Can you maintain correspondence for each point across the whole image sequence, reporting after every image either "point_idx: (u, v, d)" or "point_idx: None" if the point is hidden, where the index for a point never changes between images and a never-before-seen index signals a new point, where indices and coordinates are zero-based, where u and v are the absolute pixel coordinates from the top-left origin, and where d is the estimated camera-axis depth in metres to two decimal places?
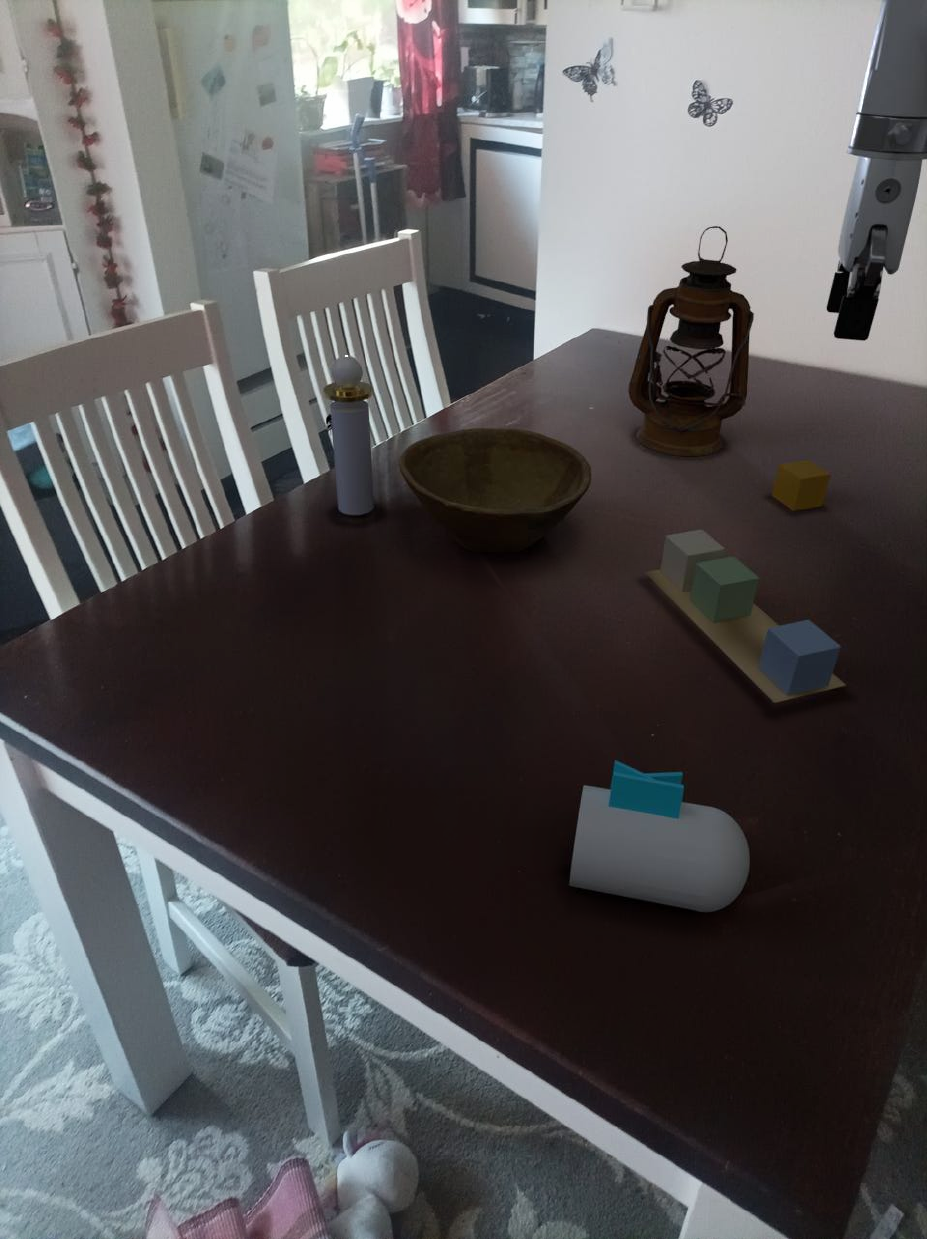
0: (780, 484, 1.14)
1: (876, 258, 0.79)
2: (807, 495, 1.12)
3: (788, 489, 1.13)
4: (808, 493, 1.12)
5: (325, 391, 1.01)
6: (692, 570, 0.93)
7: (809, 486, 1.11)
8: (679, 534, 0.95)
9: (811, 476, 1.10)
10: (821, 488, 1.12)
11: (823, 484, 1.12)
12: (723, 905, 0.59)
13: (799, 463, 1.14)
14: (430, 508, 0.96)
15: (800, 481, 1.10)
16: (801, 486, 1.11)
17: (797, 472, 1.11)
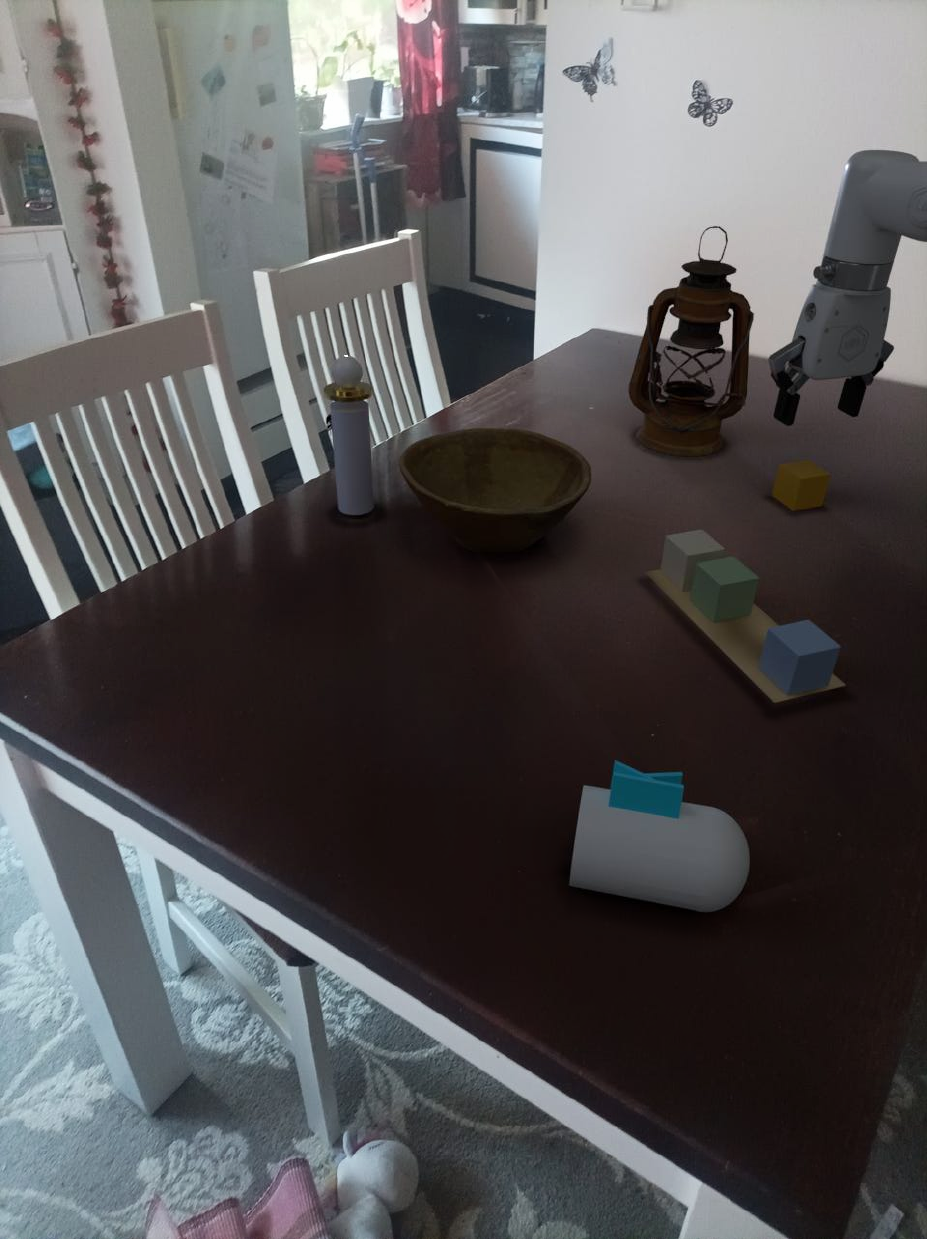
0: (780, 484, 1.14)
1: (772, 357, 1.01)
2: (807, 495, 1.12)
3: (788, 489, 1.13)
4: (808, 493, 1.12)
5: (325, 391, 1.01)
6: (692, 570, 0.93)
7: (809, 486, 1.11)
8: (679, 534, 0.95)
9: (811, 476, 1.10)
10: (821, 488, 1.12)
11: (823, 484, 1.12)
12: (723, 905, 0.59)
13: (799, 463, 1.14)
14: (430, 508, 0.96)
15: (800, 481, 1.10)
16: (801, 486, 1.11)
17: (797, 472, 1.11)
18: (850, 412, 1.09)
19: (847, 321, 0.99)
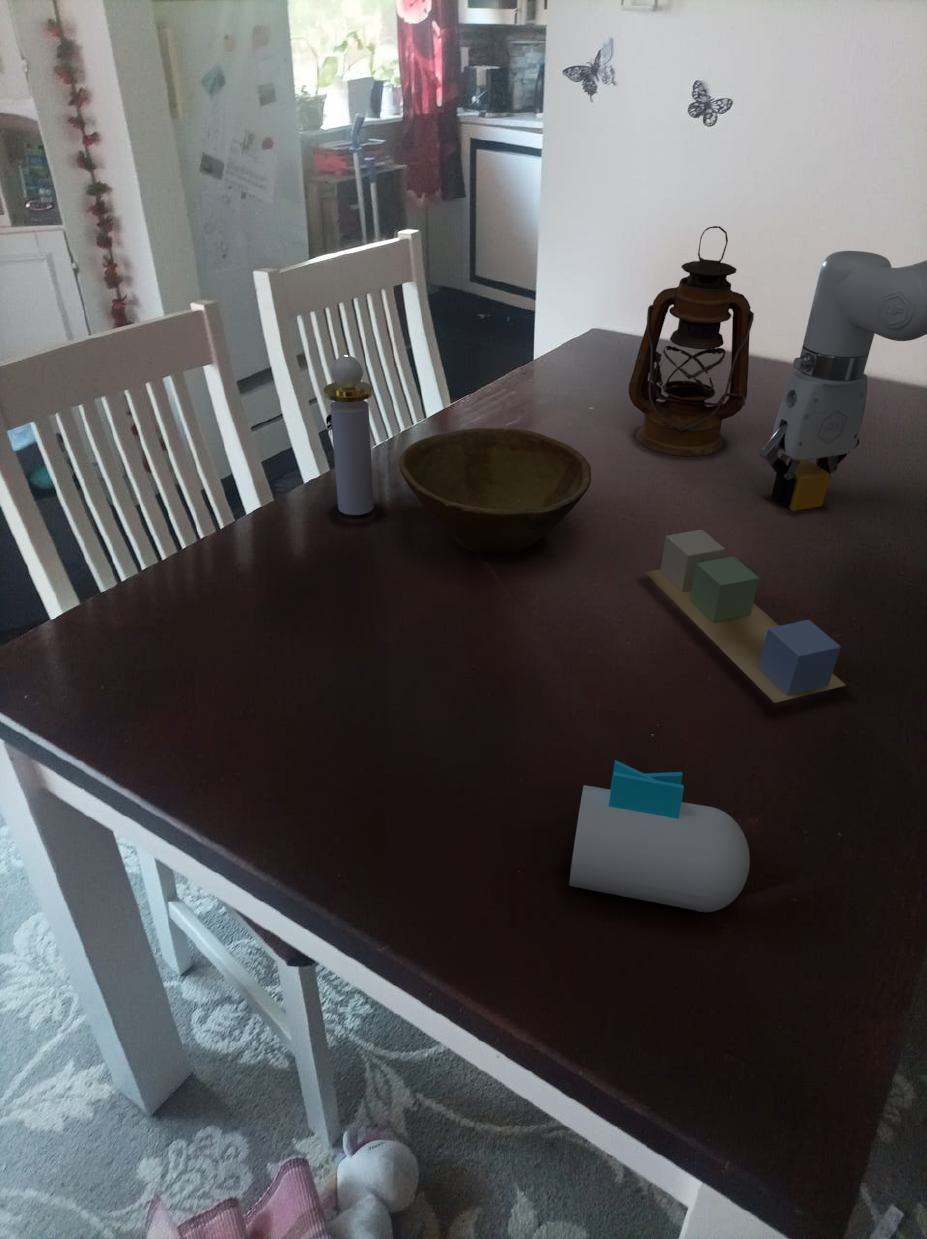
0: None
1: (762, 454, 1.09)
2: (807, 495, 1.12)
3: None
4: (808, 493, 1.12)
5: (325, 391, 1.01)
6: (692, 570, 0.93)
7: (809, 486, 1.11)
8: (679, 534, 0.95)
9: (811, 476, 1.10)
10: (821, 488, 1.12)
11: (823, 484, 1.12)
12: (723, 905, 0.59)
13: (799, 463, 1.14)
14: (430, 508, 0.96)
15: (800, 481, 1.10)
16: (801, 486, 1.11)
17: (797, 472, 1.11)
18: None
19: (826, 407, 1.04)
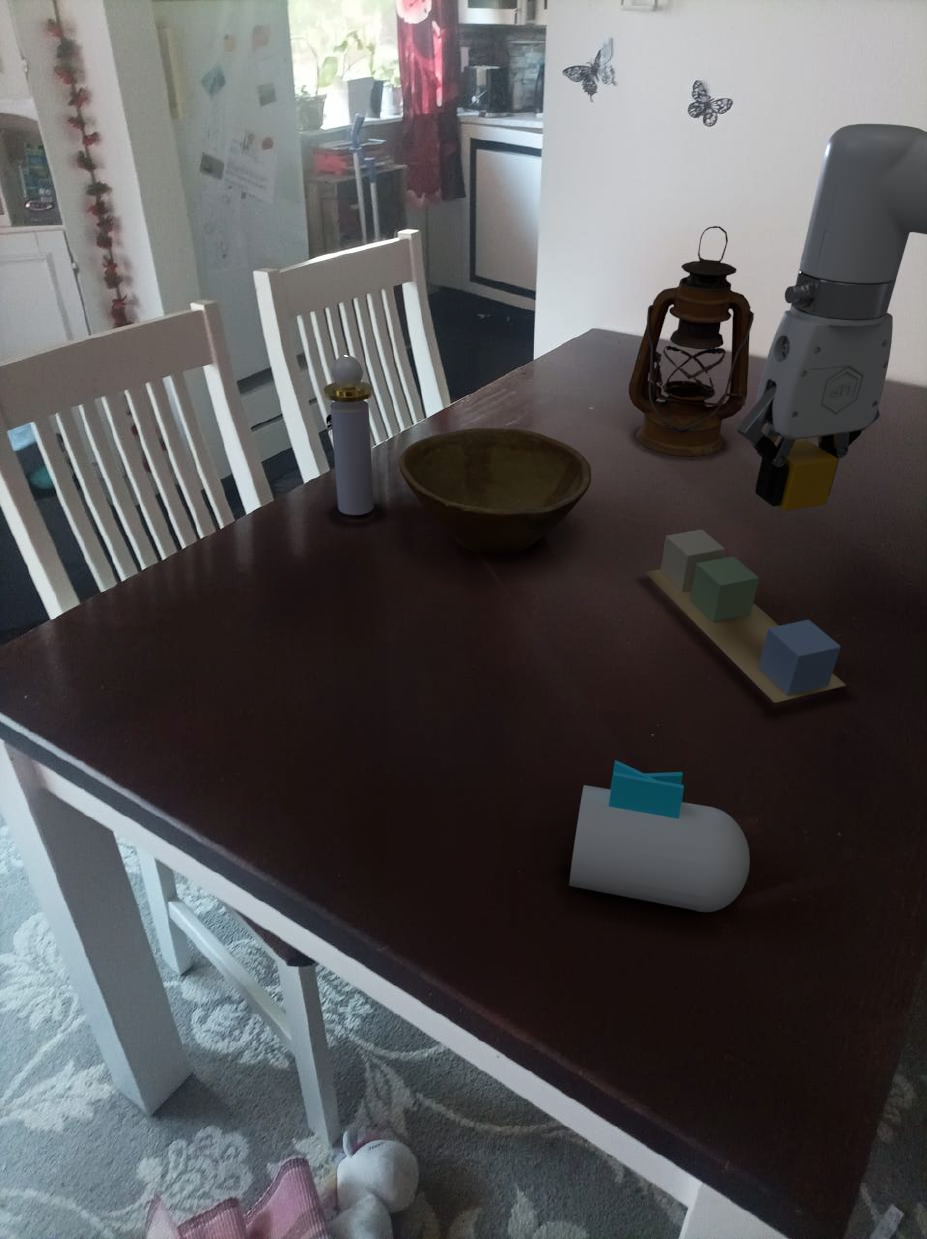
0: None
1: (740, 430, 0.76)
2: (805, 488, 0.79)
3: None
4: (806, 486, 0.79)
5: (325, 391, 1.01)
6: (692, 570, 0.93)
7: (807, 476, 0.78)
8: (679, 534, 0.95)
9: (810, 462, 0.78)
10: (825, 479, 0.79)
11: (827, 473, 0.79)
12: (723, 905, 0.59)
13: (794, 444, 0.81)
14: (430, 508, 0.96)
15: (794, 469, 0.78)
16: (797, 476, 0.78)
17: (791, 456, 0.79)
18: None
19: (832, 361, 0.72)
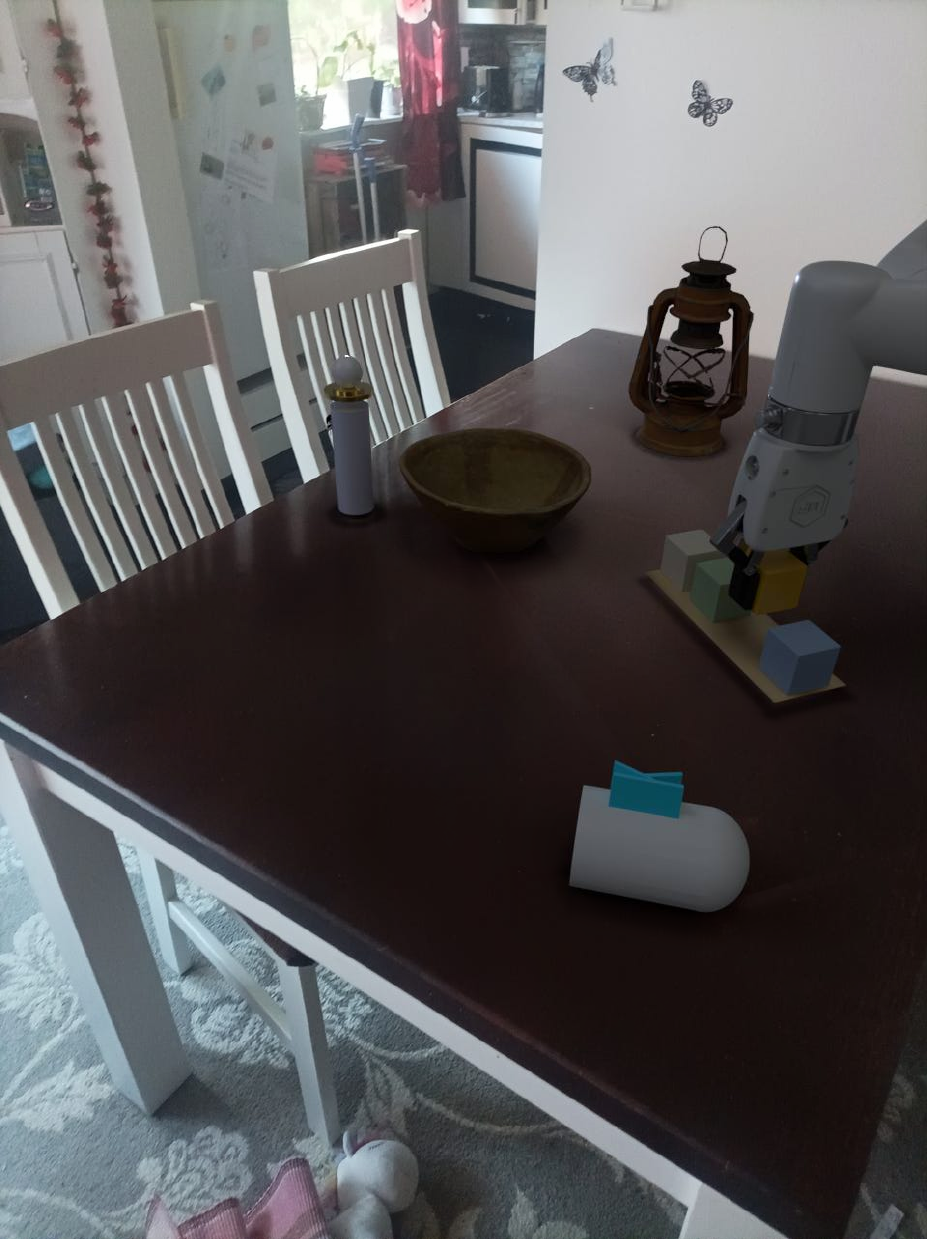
0: None
1: (712, 541, 0.78)
2: (776, 594, 0.81)
3: None
4: (777, 592, 0.81)
5: (325, 391, 1.01)
6: (692, 570, 0.93)
7: (778, 583, 0.81)
8: (679, 534, 0.95)
9: (780, 570, 0.80)
10: (795, 585, 0.81)
11: (797, 579, 0.81)
12: (723, 905, 0.59)
13: None
14: (430, 508, 0.96)
15: (765, 578, 0.80)
16: (767, 584, 0.80)
17: (762, 563, 0.81)
18: None
19: (800, 481, 0.74)
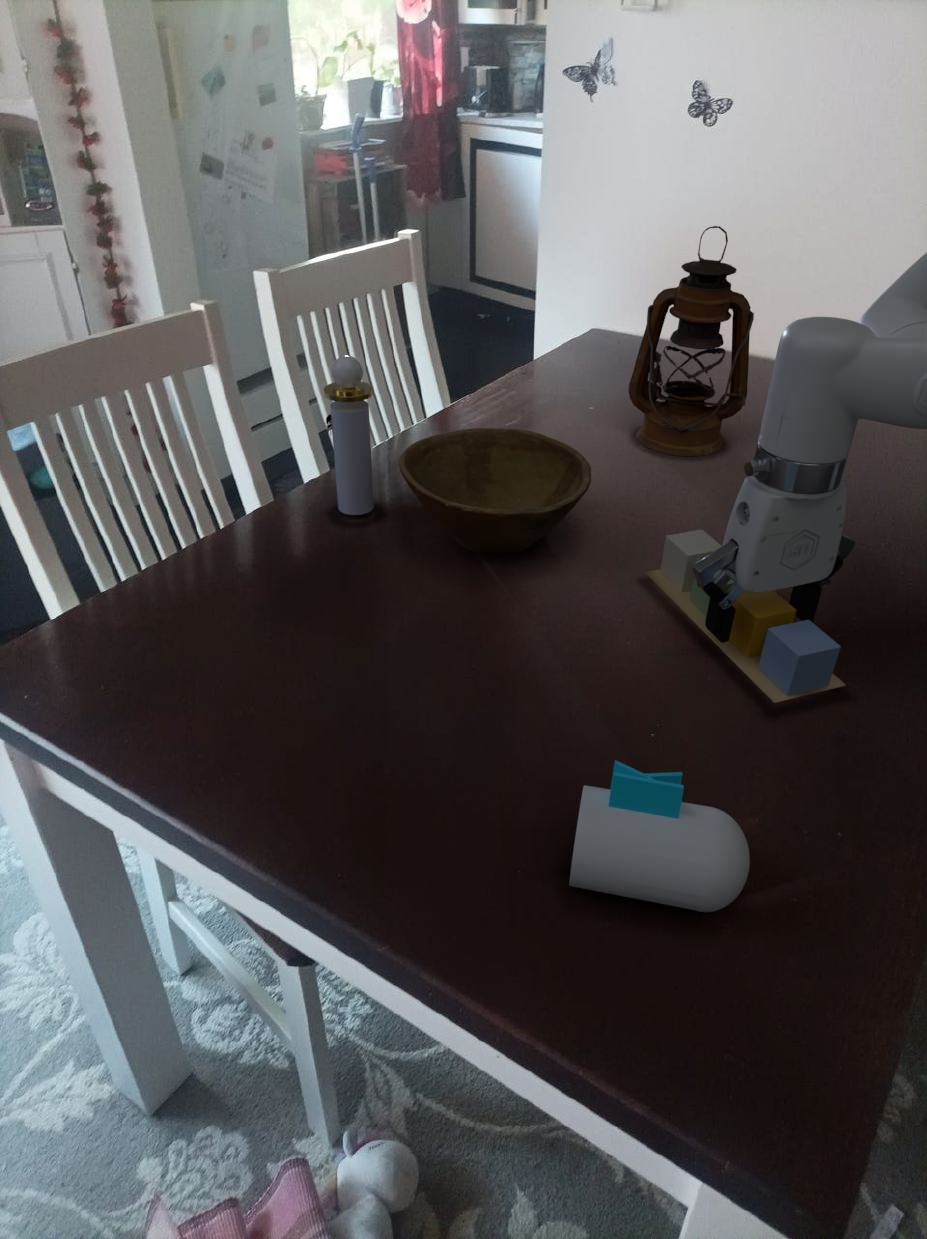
0: None
1: (696, 567, 0.79)
2: (765, 636, 0.84)
3: (740, 627, 0.85)
4: (766, 634, 0.84)
5: (325, 391, 1.01)
6: (692, 570, 0.93)
7: (767, 626, 0.83)
8: (679, 534, 0.95)
9: (770, 614, 0.83)
10: None
11: (786, 622, 0.84)
12: (723, 905, 0.59)
13: None
14: (430, 508, 0.96)
15: (755, 621, 0.82)
16: (757, 627, 0.83)
17: (752, 607, 0.84)
18: (803, 618, 0.86)
19: (790, 527, 0.76)
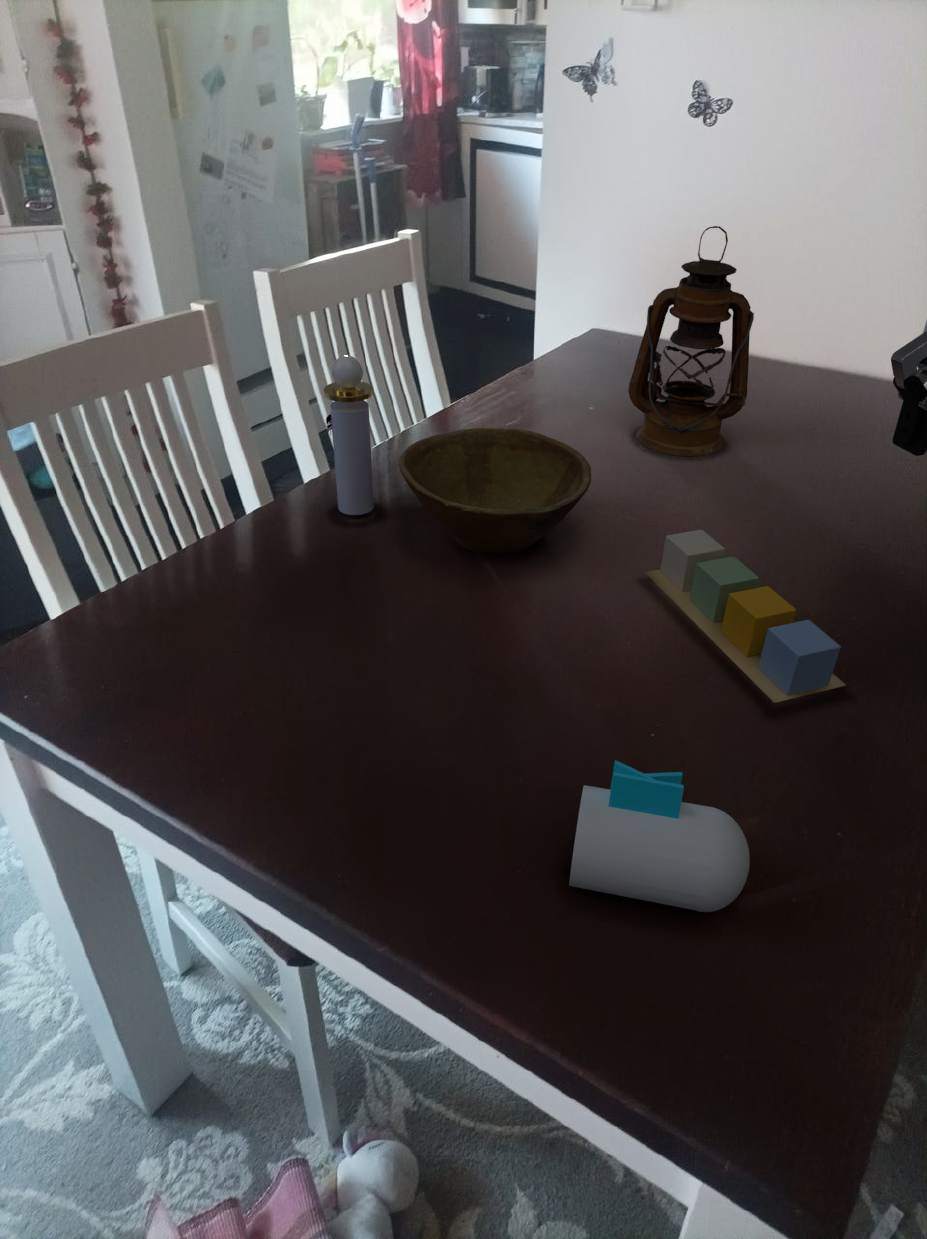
0: (731, 619, 0.86)
1: (897, 356, 0.67)
2: (765, 636, 0.84)
3: (740, 627, 0.85)
4: (766, 634, 0.84)
5: (325, 391, 1.01)
6: (692, 570, 0.93)
7: (767, 626, 0.83)
8: (679, 534, 0.95)
9: (770, 614, 0.83)
10: None
11: (786, 622, 0.84)
12: (723, 905, 0.59)
13: (756, 591, 0.86)
14: (430, 508, 0.96)
15: (755, 621, 0.82)
16: (757, 627, 0.83)
17: (752, 607, 0.84)
18: None
19: None
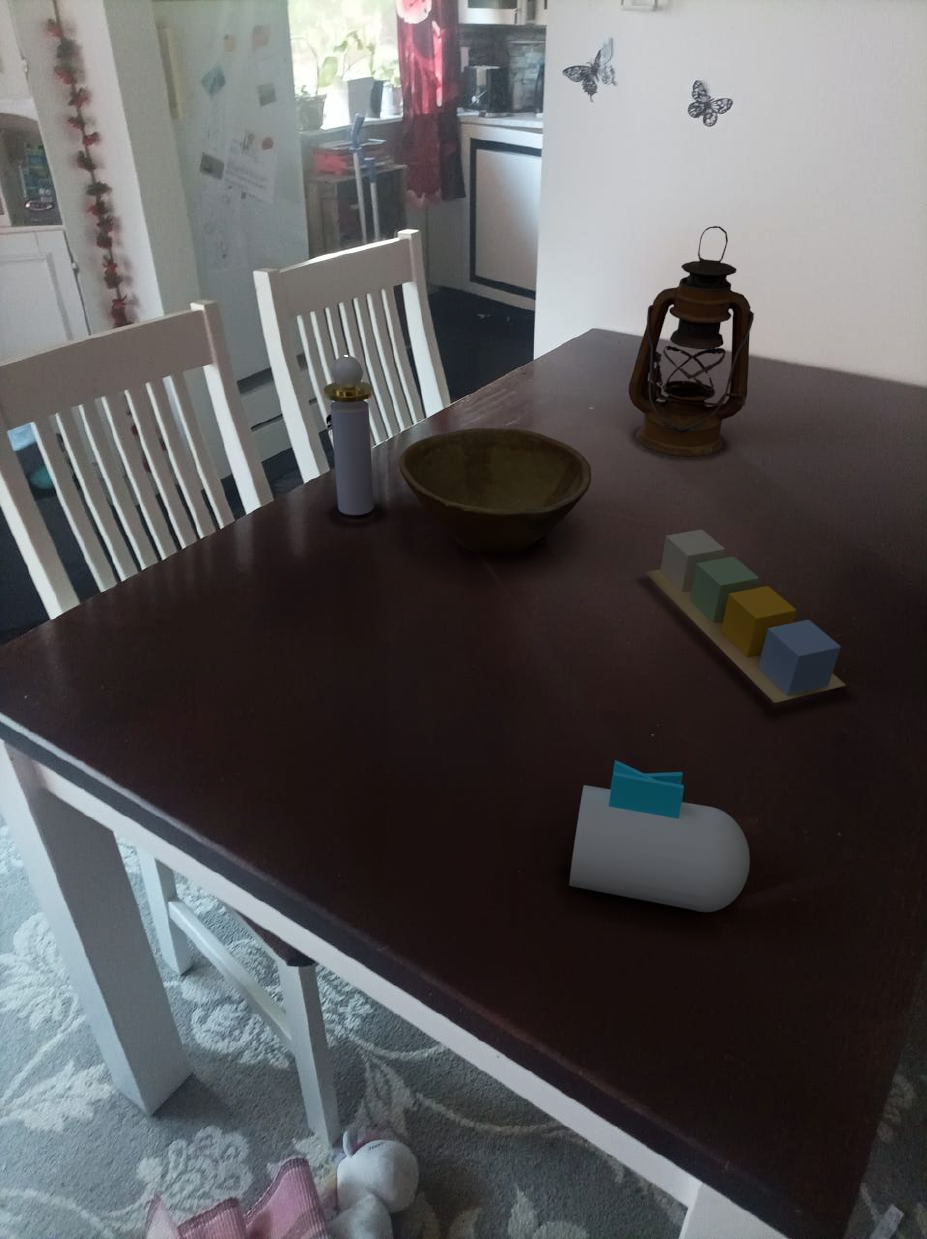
0: (731, 619, 0.86)
1: None
2: (765, 636, 0.84)
3: (740, 627, 0.85)
4: (766, 634, 0.84)
5: (325, 391, 1.01)
6: (692, 570, 0.93)
7: (767, 626, 0.83)
8: (679, 534, 0.95)
9: (770, 614, 0.83)
10: None
11: (786, 622, 0.84)
12: (723, 905, 0.59)
13: (756, 591, 0.86)
14: (430, 508, 0.96)
15: (755, 621, 0.82)
16: (757, 627, 0.83)
17: (752, 607, 0.84)
18: None
19: None
